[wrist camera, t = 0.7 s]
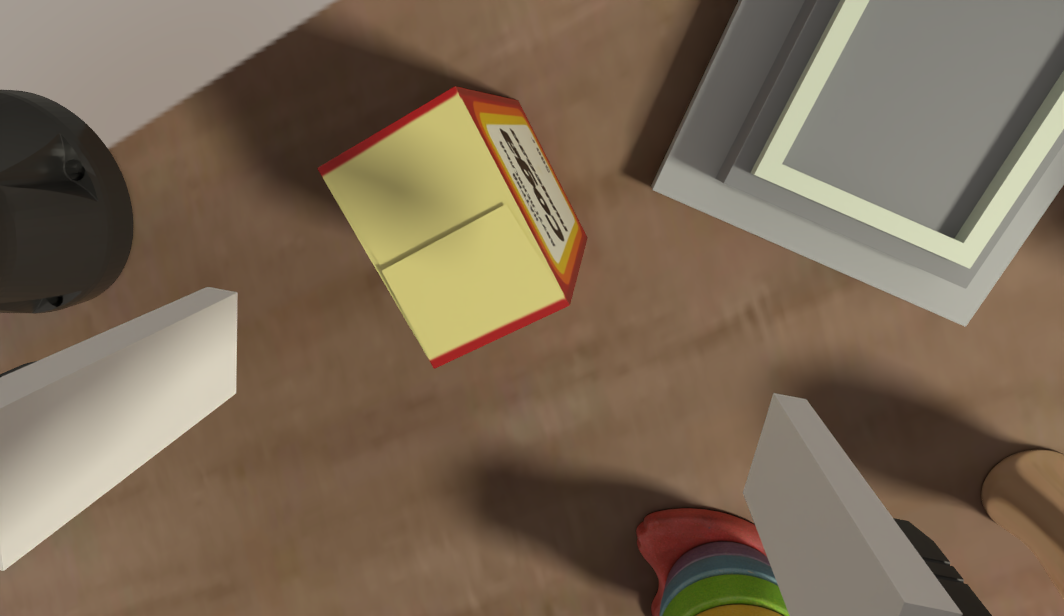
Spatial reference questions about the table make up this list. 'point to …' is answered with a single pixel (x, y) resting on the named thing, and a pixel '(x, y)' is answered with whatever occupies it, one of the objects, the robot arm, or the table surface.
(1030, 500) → the beer glass
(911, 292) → the plinth
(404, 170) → the baking soda box
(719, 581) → the stacking bear
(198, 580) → the table surface
